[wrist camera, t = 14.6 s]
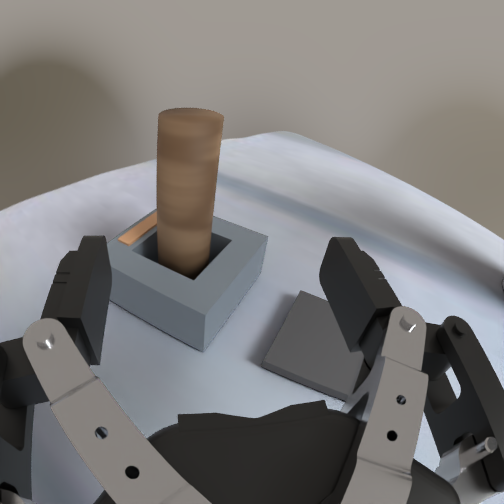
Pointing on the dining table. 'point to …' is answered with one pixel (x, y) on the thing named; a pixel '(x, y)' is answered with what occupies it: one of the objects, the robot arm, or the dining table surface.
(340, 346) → the pad
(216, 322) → the socket block
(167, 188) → the walnut peg
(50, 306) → the robot arm
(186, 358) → the dining table surface
